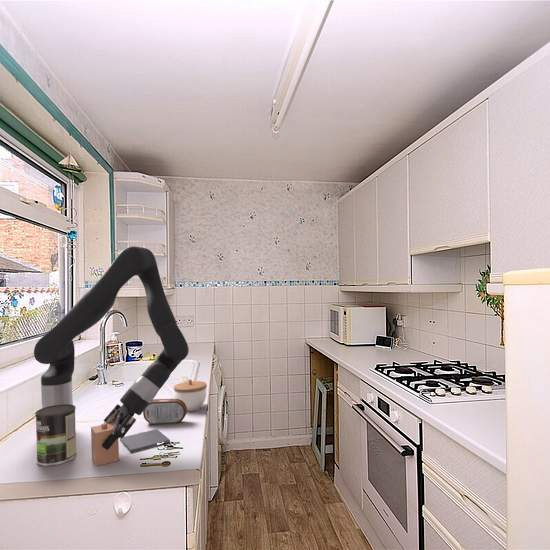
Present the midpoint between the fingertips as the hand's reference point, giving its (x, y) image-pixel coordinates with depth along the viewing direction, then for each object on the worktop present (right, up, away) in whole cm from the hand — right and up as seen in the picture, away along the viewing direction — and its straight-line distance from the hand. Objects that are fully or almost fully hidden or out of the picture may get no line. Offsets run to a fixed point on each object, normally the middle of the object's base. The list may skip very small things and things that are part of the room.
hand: (100, 443), depth 117 cm
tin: (+11, -5, +29) cm, 31 cm away
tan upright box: (+1, -5, +1) cm, 5 cm away
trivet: (+8, -5, +13) cm, 16 cm away
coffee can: (-14, -6, +3) cm, 15 cm away
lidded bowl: (+16, -5, +45) cm, 48 cm away
